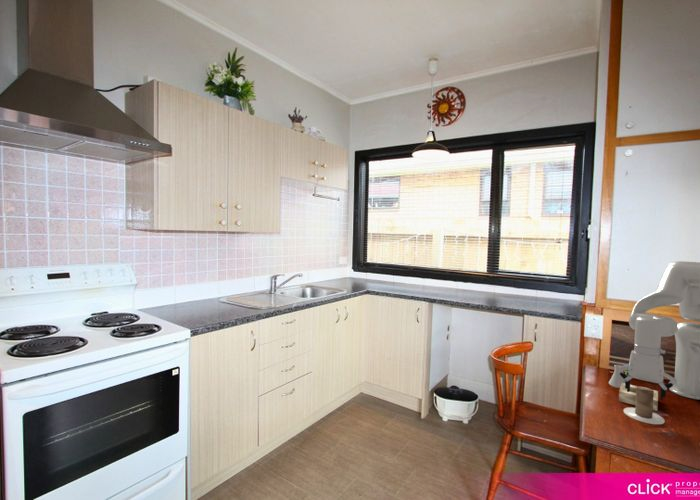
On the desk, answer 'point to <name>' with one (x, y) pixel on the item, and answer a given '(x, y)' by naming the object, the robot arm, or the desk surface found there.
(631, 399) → the birch holder
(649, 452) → the desk surface
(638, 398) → the walnut peg
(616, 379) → the flask
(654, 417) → the white round dome
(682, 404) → the desk surface
